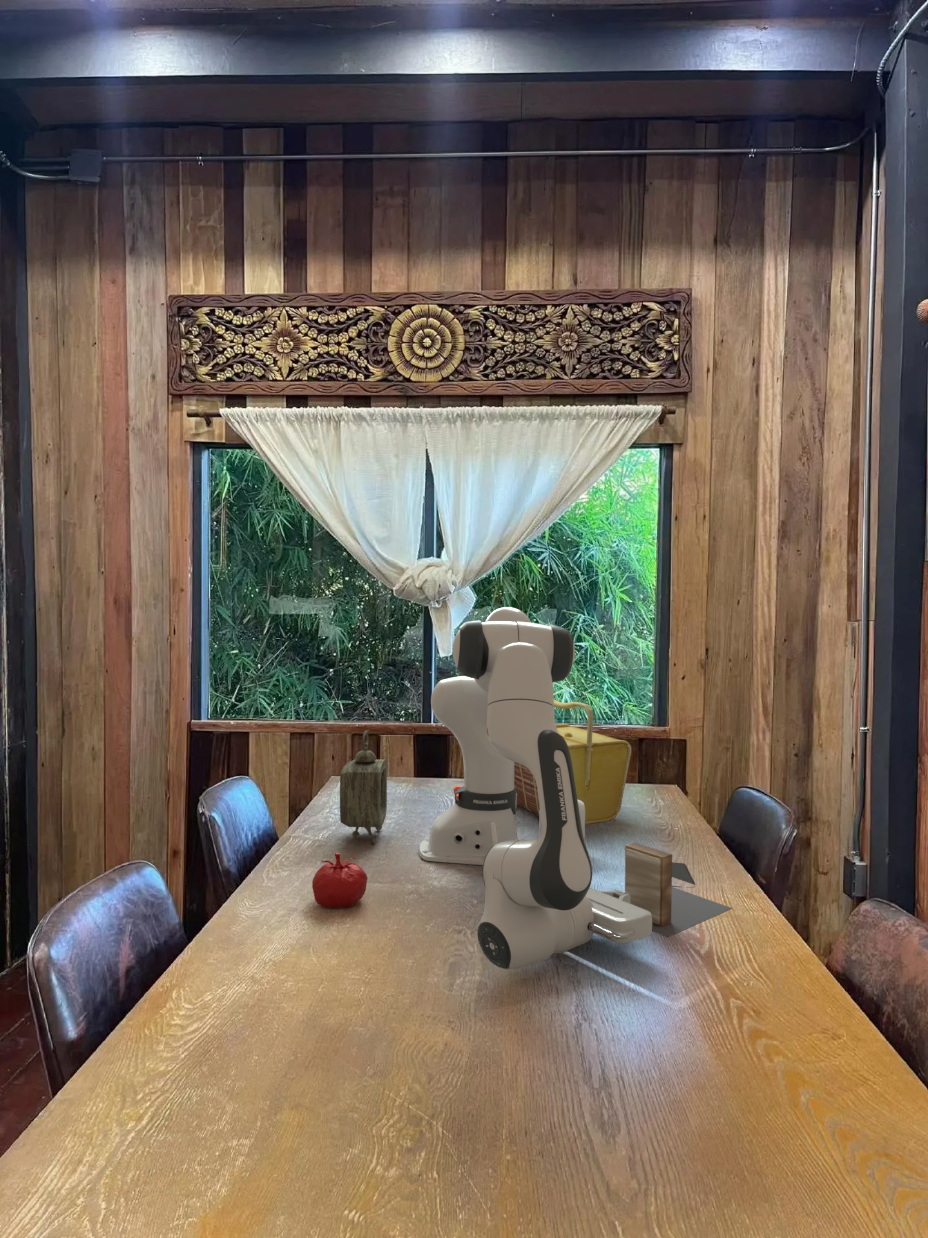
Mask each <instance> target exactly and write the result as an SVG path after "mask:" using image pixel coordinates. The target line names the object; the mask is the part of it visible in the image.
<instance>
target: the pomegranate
mask: <svg viewBox="0 0 928 1238" xmlns="http://www.w3.org/2000/svg"><path fill="white" fill-rule="evenodd" d="M334 857H335V862H333V861H331V859H326V860H321V862H322V863H326V864H323V865H322V866H321V867H320V868H319V869H318V870H317V871H316V872H315V874H314V876H313V879H312V883H311V884H312V892H313V897H314V900H315V902H316V903H317V905H318V906H321V907H322V908H328V909H329V908H330V909H340V908H341V909H342V908H343V909H346V908H350V907H352V906H354V905H356V904H358V903H359V902H360V901H361V900H362V899H363V897H364V895H365V894H366V890H367V883H368V875H367V873H366V871H365V870H364V869H363V868H362V867H361V866H360V865H359V864H356V863H355V862H349V861H350V860H356V859H357V858H356V857H354V858H353V857H351V858H348V859H345V860H344V861H343V862H342V861H341V853H339V852H334Z"/></svg>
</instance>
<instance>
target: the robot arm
mask: <svg viewBox="0 0 928 1238" xmlns="http://www.w3.org/2000/svg"><path fill="white" fill-rule="evenodd" d="M575 648H576V647H575V644H574V639H573V636H572V634H571V633H570V632H569V631H568V630H567V629H566V628H564V627H561V626H558V625H555V624H550V623H549V624H548V625H546V624H542V623H536V622H531V619H530V617H528V615H527V614H526V613H524V612H523V611H522V610H521V609H518V608H515V607H511V606H505V607H503V606H502V607H500V608H497V609H495V610H493V611H492V612H491V613H490V614H489V615H488V617H487V618H486V620H485V621H481V620H478V619H477V620H470V621H466V622H463V623H462V624H461V625H460V626H459V627H458V631H457V632H456V635H455V636H454V639H453V644H452V648H451V649H452V651H451V652H452V658H453V661H454V664H455V668H456V670H457V671H458V672H459V673H460V674H461V675H459V676H453V677H448V678H444V679H441V680H440V681H438V682H437V684H436V685H435V686H434V687H433V689H432V692H431V696H430V705H431V710H432V713H433V715H434V716H435V718H436V720H438V721H439V722H440V723H441V724H442V725H444V726H445V727H446V728H447V729H448V730H449V731H451V733H452V735H454V737H455V738H456V740H457V742H458V745H459V747H460V751H461V755H462V759H463V760H462V761H463V777H464V779H463V780H464V783H463V785H464V786H461V785H460V784H456V785H454V787H453V794H454V804H453V805H452V806H451V807H449V808H448V809H447V810H445V811H444V812H442V813H441V814H440V815H438V816H437V817H436V818H435V819H434V820H433V822H432V824H431V827H430V830H429V836H428V837H427V838H424V839H423V840H422V841H421V842H420V844H419V850H418V851H419V852H418V854H419V857H420V858H422V859H423V860H424V861H429V862H437V863H438V862H440V863H452V864H465V865H467V864H468V865H479V866H482V871H481V872H482V873H481V875H482V881H483V885H484V889H485V890H484V891H485V894H484V895H485V896H484V908H483V913H482V915H481V918H480V921H479V922H478V925H477V929H476V931H477V935H476V936H477V940H478V944H479V947H480V949H481V951H482V953H483V954H484V956H485V957H486V958H487V960H488V961H489V962H490V963H492V964H493V965H494V966H496V967H498V968H499V969H503V970H508V971H510V970H518V969H522V968H525V967H529V966H532V965H535V964H538V963H541V962H543V961H545V960H547V959H549V958H550V957H551V956H552V955H553V954H557V953H558V954H560V953H561V954H562V953H564V952H568V951H569V950H572V949H574V948H577V947H580V946H582V945H584V944H586V943H588V942H589V941H590V940H591V939H592V937H593V935H597V936H599V937H601V938H604V939H606V940H608V941H609V942H612V943H615V944H628V943H632V942H636V941H640V940H643V939H645V938H648V937H650V936H651V934H652V932H653V931H652V915H651V912H649V911H647V910H645V909H642V908H640V907H637V906H635V905H632V904H630V895H629V894H627V893H625V891H621V890H619V889H613V890H597V889H594V888H592V887H591V885H592V881H593V867H592V862H591V858H590V854H589V852H588V848H587V846H586V843H585V841H586V840H585V841H584V837H583V832H582V827H581V820H580V813H579V806H578V799H577V792H576V785H575V778H574V771H573V765H572V760H571V755H570V751H569V748H568V745H567V743H566V741H565V739H564V738H563V737H562V736H561V735H560V734H559V733H558V730H557V727H556V724H557V723H556V718H555V706H554V699H555V696H554V695H555V694H554V685H553V683H556V682H561V681H564V680H565V679H566V678H567V677H568V676H569V675H570V673H571V670H572V668H573V666H574V662H575V659H576V658H575V657H576V649H575ZM514 762H516V763H519V764H521V765H523V766H525V767H527V768H528V769H529V770H530V771H531V772H532V774H533V776H534V778H535V780H536V784H537V790H538V799H539V807H540V816H541V824H542V833H541V836H540V838H539V837H538V838H536V839H519V836H518V831H517V830H518V829H517V823H516V813H517V809H518V808H517V805H518V804H517V793H516V788H515V787H514Z"/></svg>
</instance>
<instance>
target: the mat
mask: <svg viewBox="0 0 928 1238" xmlns="http://www.w3.org/2000/svg"><path fill="white" fill-rule="evenodd" d="M729 910H733V908H732V907H730V906H728V905H725V904H722V903H719V902H716V901H713V900H710V899H708V898H704V897H702V896H699V895H696V894H694V893H692V892H691V893H690V892H687V891H685V890H683V889H679V888H678V887H672V904H671V924H668V925H666V926H664V927H660V926H658V925H655V924H653V923H652V932H654V933H657V934H659V935H661V936H664V937H666V938H671V937H672V936H675V935H676V934H679V933H681V932H683V931H686V930H687V929H690V928H692V927H694V926H697V925H699V924H701V923H703V922H705V921H707V920H709V919H712V918H714V917H716V916H718V915H721V914H723V913H726V912H727V911H729Z"/></svg>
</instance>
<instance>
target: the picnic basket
mask: <svg viewBox="0 0 928 1238" xmlns="http://www.w3.org/2000/svg"><path fill="white" fill-rule="evenodd" d="M575 707H580V708H584V709H585V710H586V712H587V727H586V729H583V728H580V727H576V726H574V725H570V724H568V723H556V727H557V730H558V733H559V734H560V735H561V736H562V737H563V738H564V739H565V741H566V743H567V745H568V748H569V751H570V755H571V760H572V765H573V771H574V778H575V785H576V792H577V799H578V800H580V801H582V802H583V803H584V806H585V825H590V824H598V823H604V822H608V821H612V820H613V819H614V818H616V817H617V816H618V814H620V810H621V808H622V805H623V804H622V802H623V798H624V793H625V792H624V791H625V787H626V781H627V778H628V771H629V766H630V761H631V755H632V746H631V744H630V742H628V741H626V740H623V739H618V738H614V737H611V736H608V735H604V734H601V733H597V732H593V730H594V729H593V727H594V713H593V709H592V708H591V706H590V705H589V704H587V703H584V702H580V701H579V702H578V701H571V702H569V701H568V702H561V701H558V700H556V699H555V698H554V708H558V709H563V710H571V709H574V708H575ZM514 787H515V788H516V793H517V805H518V806H520V807H522V808H523V809H526V810H528V811H530V812H532V813H533V814H535V815H537V816H539V811H540V807H539V799H538V790H537V784H536V780H535V778H534V776H533V774H532V772H531V771H530V770H529V769H528V768H527V767H525V766H523V765H521V764H519V763H516V762H514Z"/></svg>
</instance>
